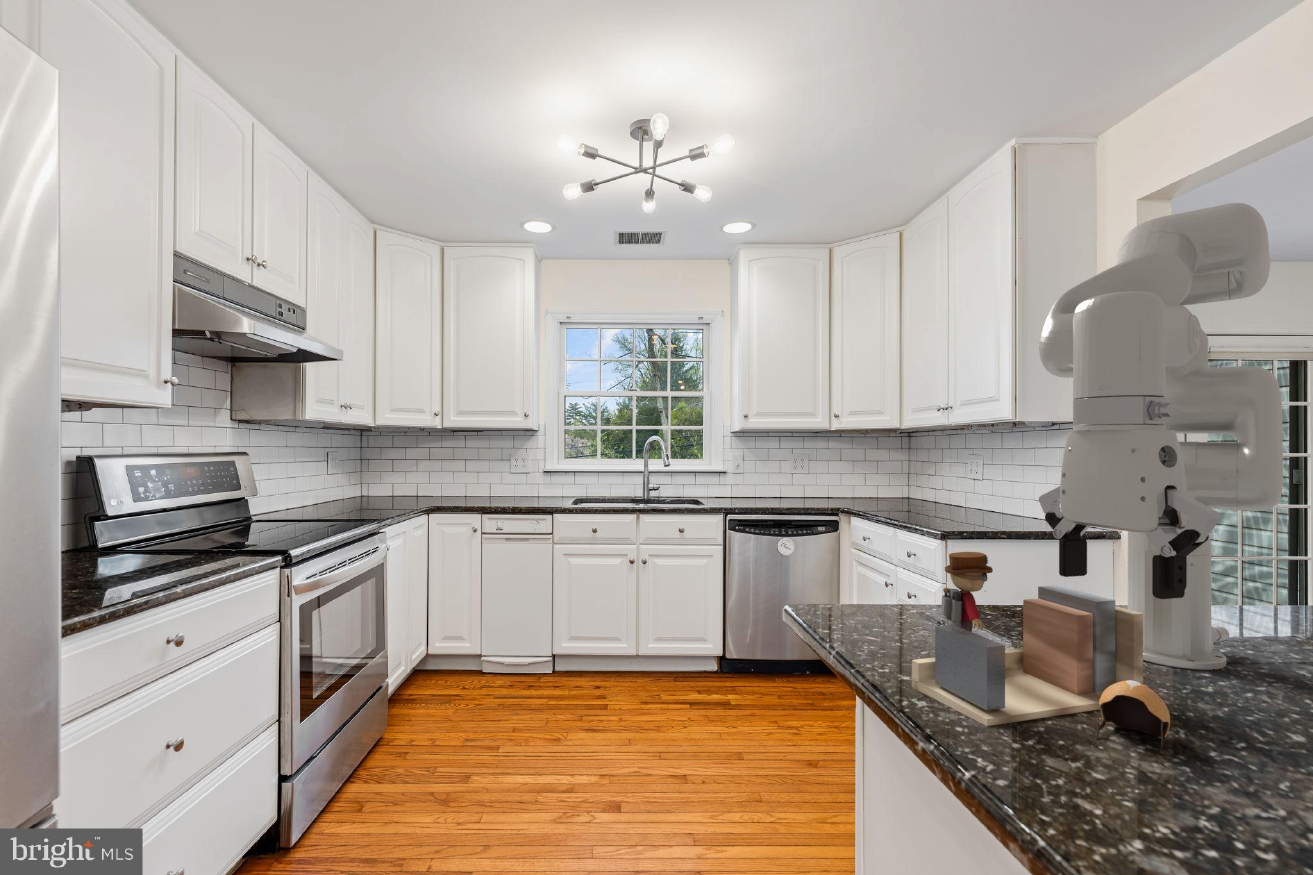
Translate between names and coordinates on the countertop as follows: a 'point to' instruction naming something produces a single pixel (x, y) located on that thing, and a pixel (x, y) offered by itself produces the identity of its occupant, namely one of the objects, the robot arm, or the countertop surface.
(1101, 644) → the book rack
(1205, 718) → the countertop surface
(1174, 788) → the countertop surface
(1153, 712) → the helmet
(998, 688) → the bookend
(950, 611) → the toy
